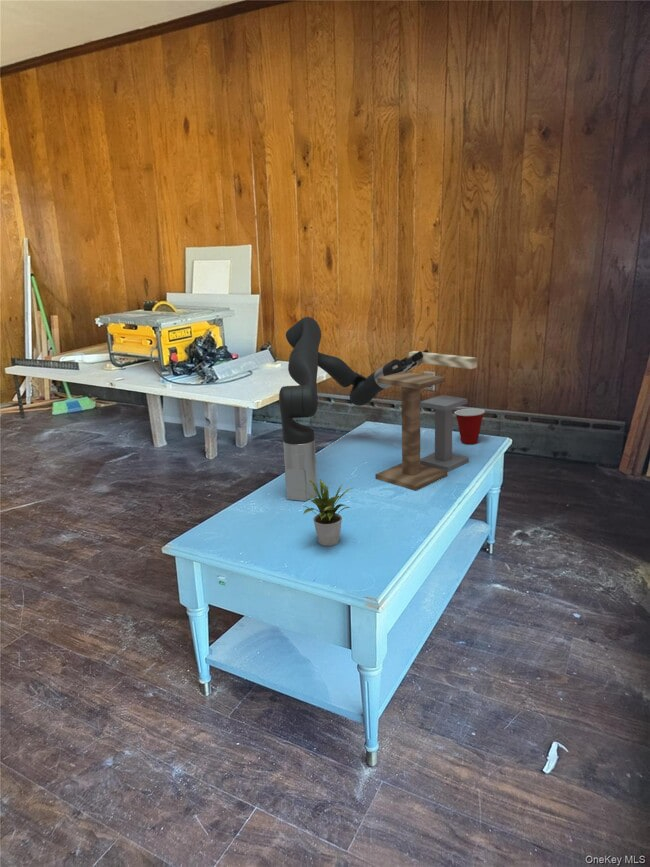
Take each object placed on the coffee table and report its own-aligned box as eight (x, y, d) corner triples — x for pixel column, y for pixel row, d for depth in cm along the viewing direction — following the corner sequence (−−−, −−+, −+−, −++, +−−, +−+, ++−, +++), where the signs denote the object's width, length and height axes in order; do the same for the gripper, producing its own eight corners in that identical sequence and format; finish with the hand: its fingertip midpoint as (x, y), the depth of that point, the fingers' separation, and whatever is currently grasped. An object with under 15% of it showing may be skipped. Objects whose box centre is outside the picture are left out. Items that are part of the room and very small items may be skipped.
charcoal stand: (468, 462, 199) (470, 399, 193) (447, 471, 191) (448, 406, 185) (439, 454, 208) (439, 394, 201) (417, 463, 200) (417, 401, 194)
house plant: (284, 541, 150) (279, 481, 145) (323, 523, 159) (320, 465, 155) (323, 559, 140) (320, 495, 136) (363, 539, 149) (361, 478, 145)
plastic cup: (466, 436, 227) (466, 405, 223) (490, 441, 219) (491, 410, 215) (447, 442, 220) (448, 411, 217) (471, 448, 212) (472, 416, 209)
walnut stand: (447, 475, 188) (448, 375, 179) (415, 490, 178) (415, 385, 168) (407, 465, 199) (406, 370, 190) (375, 478, 189) (372, 379, 180)
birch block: (476, 367, 183) (477, 357, 182) (471, 369, 181) (471, 359, 180) (414, 359, 200) (414, 351, 199) (408, 361, 198) (408, 352, 197)
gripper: (372, 367, 203) (407, 345, 190) (398, 361, 212) (433, 339, 199) (381, 387, 202) (416, 367, 189) (407, 380, 212) (442, 360, 199)
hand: (425, 353), depth 194 cm, fingers closed on birch block, 3 cm apart
